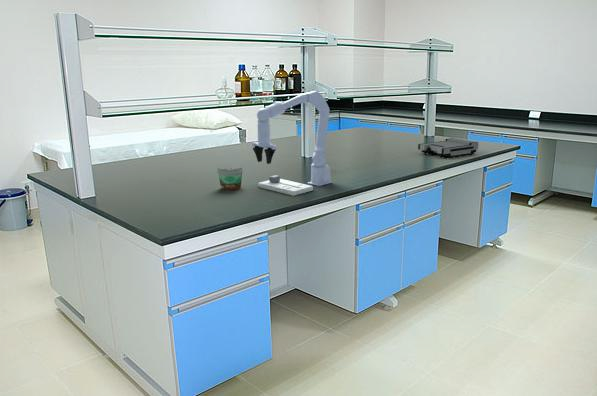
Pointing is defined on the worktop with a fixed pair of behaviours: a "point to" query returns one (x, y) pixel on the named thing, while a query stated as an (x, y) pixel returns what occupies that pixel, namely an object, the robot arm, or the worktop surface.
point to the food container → (230, 178)
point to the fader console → (286, 187)
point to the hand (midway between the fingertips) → (264, 162)
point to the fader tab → (274, 178)
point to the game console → (450, 148)
